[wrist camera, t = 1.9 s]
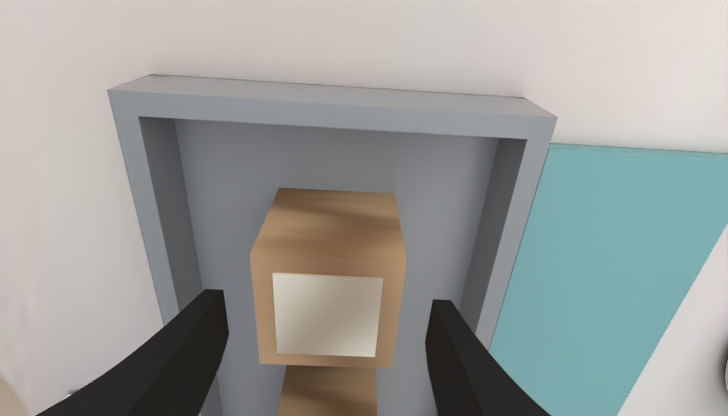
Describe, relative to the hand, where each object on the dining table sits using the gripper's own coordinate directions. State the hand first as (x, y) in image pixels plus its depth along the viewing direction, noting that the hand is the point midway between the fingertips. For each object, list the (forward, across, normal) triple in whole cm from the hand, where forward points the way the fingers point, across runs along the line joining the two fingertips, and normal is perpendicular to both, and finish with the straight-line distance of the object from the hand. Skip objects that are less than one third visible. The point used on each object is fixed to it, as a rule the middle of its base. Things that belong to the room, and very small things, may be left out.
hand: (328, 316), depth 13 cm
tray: (+6, 0, +5) cm, 8 cm away
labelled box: (+5, 0, 0) cm, 5 cm away
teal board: (+6, -13, +5) cm, 15 cm away
